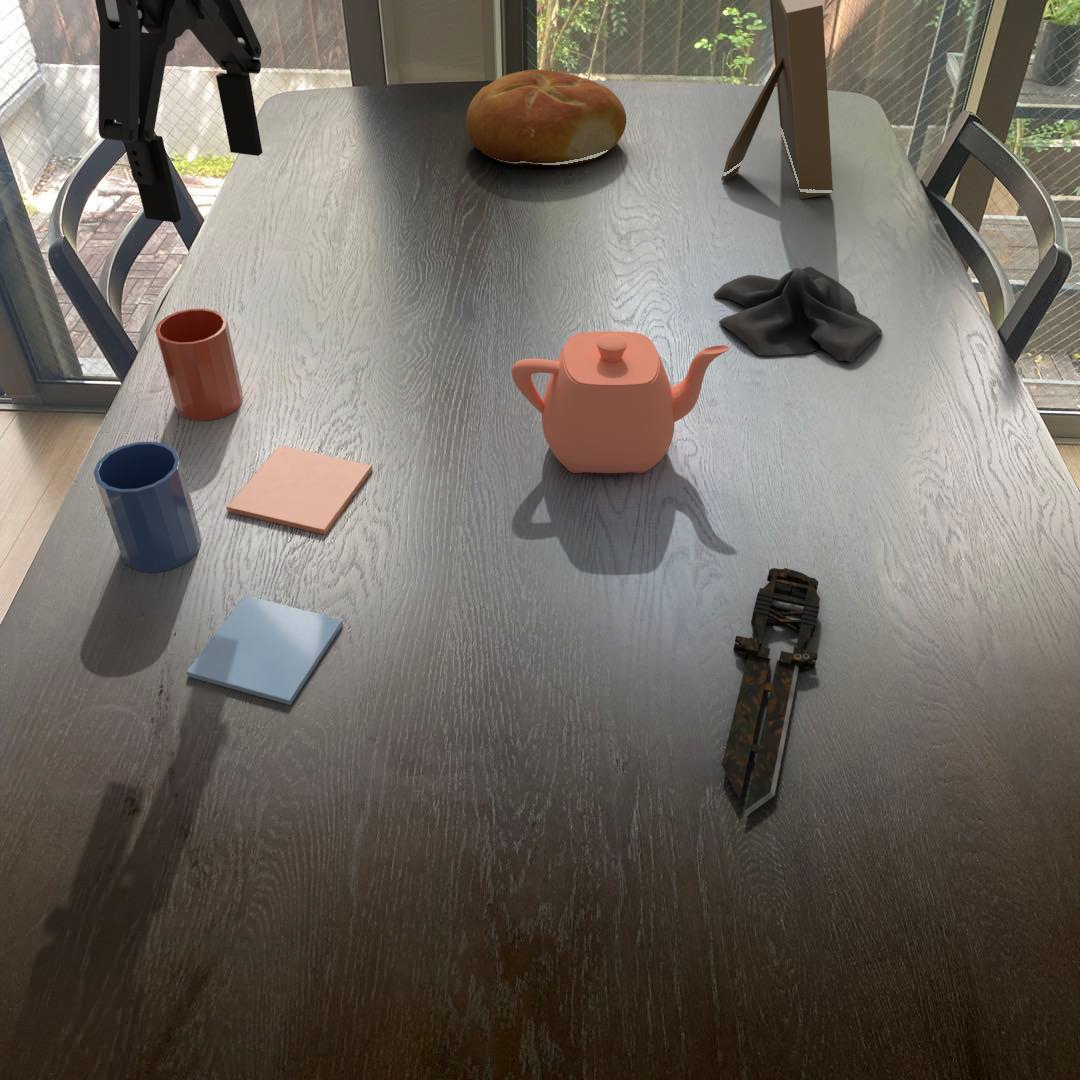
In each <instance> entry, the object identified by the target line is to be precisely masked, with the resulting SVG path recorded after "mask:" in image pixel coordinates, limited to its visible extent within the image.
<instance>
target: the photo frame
mask: <svg viewBox="0 0 1080 1080" xmlns="http://www.w3.org/2000/svg"><path fill="white" fill-rule="evenodd" d="M769 6H770V7H769V8H770V10H769V11H770V17H771V18H770V20H771V33H772V43H773V45H772V46H773V54H774V56H773V57H774V68H773V69H772V72H771V74H770V76H769V77H768V79H767V81H766V83H765V84H764V87H763V88H762V90H761V92H760V93H759V95H758V97H757V99H756V101H755V103H754V105H753V107H752V109H751V111H750V112H749V114H748V116H747V117H746V119H745V121H744V123H743V125H742V127H741V129H740V130H739V132H738V134H737V136H736V138H735V140H734V142H733V144H732V145H731V147H730V149H729V150H728V154H727V157H726V161H725V164H724V169H723V172H727V171H729V170H730V169H732V168H733V167H734V166H736V165H737V164H739V163H740V162H741V161H742V160H743V161H744V159H745V157H746V155H747V152H748V149H749V147H750V145H751V142H752V140H753V138H754V135H755V134H756V131H757V129H758V126H759V125H760V122H761V119H762V117H763V115H764V113H765V111H766V108H767V106H768V103H769V101H770V99H771V96H772V94H773V92H774V90H775V88H776V91H777V104H778V116H779V117H778V118H779V127H780V126H781V128H782V129H783V132H784V136H785V139H786V142H787V145H788V149H789V152H790V155H791V158H792V161H793V165H794V168H795V171H796V174H797V177H798V180H799V187H798V184H797V181H796V178H795V175H794V171H793V168H792V165H791V162H790V159H789V156H788V153H787V150H786V147H785V143H784V140H783V137H782V135H781V134H780V140H781V141H782V145H783V149H784V151H785V155H786V157H787V161H788V164H789V167H790V170H791V173H792V176H793V180H794V182H795V186H796V189H797V193H798V195H799V198H800V200H804V199H810V198H815V197H820V196H825V195H830V194H832V193H806V192H800V190H799V188H800V189H808V190H809V189H812V190H813V189H815V190H832V191H833V192H834V187H833V170H832V169H833V168H832V152H831V151H832V149H831V135H830V134H831V133H830V132H831V129H830V116H829V115H830V114H829V97H828V96H829V95H828V79H827V78H828V75H827V59H826V42H825V41H826V40H825V21H824V6H823V3H822V0H769ZM743 161H742V162H743ZM741 166H742V164H741V165H740V166H739V167H737V168H736V169H734V170H733V171H732V172H730V173H729V174H727V175H726V176H723V174H722V177H721V179H720V180H721V182H725V181H727V180H728V179H729V178H731V177H732V176H734V175H735V174H737V173H738V172H739V171H740V169H741Z"/></svg>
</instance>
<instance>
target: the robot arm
mask: <svg viewBox="0 0 1080 1080" xmlns="http://www.w3.org/2000/svg"><path fill="white" fill-rule="evenodd" d="M94 1H95V6H96V7H95V8H96V12H97V17H98V23H99V54H98V55H99V56H98V57H99V60H98V61H99V63H98V72H99V73H98V134H99V137H100V138H101V139H103V140H109V141H115V142H116V141H117V142H122V143H123V145H124V150H125V153H126V158H127V161H128V164H129V169H130V172H131V177H132V179H133V181H134V182H135V183H136V186H137V190H138V192H139V198H140V202H141V206H142V209H143V213H144V217H145V219H147V220H153V221H161V222H166V223H167V222H168V223H174V224H177V223H178V222H180V221H181V220H182V215H181V212H180V206H179V203H178V199H177V194H176V190H175V186H174V181H173V177H172V173H171V168H170V164H169V161H168V156H167V151H166V147H165V143H164V138H163V136H162V135H155V128H156V124H157V123H156V122H157V116H158V111H159V105H160V98H161V94H162V86H163V81H164V75H165V69H166V64H167V57H168V54H169V53H170V52H171V51H173V50H174V49H175V45H176V41H177V39H178V38H180V37H181V36H183V34H184V33H185V32H186V31H187V30H189V31H190V32H191V33H192V35H193V36H194V37H195V38H196V40H197V41H198V42H199V43H200V44H201V46H202V47H203V48H204V49H205V50H206V52H207V53H208V54H209V55H210V56H211V58H212V59H213V60H214V61H215V63H216V64H217V65H218V66H219V68H220V69H221V70H222V71H225V72H219V73H218V74H216V75H215V78H216V84H217V90H218V95H219V100H220V104H221V109H222V115H223V120H224V125H225V131H226V137H227V141H228V147H229V151H230V153H231V154H239V155H249V156H256V157H259V156H260V155H262V154H263V148H262V147H263V146H262V142H261V141H262V140H261V135H260V130H259V124H258V118H257V113H256V106H255V99H254V94H253V93H254V92H253V88H252V87H253V86H252V83H251V76H250V74H255V75H258V74H260V73H261V69H262V63H261V60H260V59H259V58H261V56H262V51H263V50H262V45H261V43H260V41H259V38H258V37H257V35H256V32H255V30H254V28H253V26H252V24H251V21H250V19H249V16H248V15H247V12H246V10H245V8H244V5H243V4H242V1H241V0H94ZM143 28H144V29H145V31H146V32H143ZM239 39H242V40H239Z"/></svg>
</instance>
